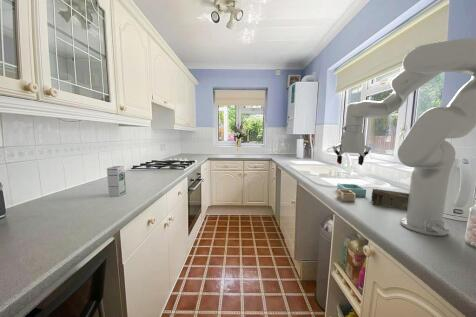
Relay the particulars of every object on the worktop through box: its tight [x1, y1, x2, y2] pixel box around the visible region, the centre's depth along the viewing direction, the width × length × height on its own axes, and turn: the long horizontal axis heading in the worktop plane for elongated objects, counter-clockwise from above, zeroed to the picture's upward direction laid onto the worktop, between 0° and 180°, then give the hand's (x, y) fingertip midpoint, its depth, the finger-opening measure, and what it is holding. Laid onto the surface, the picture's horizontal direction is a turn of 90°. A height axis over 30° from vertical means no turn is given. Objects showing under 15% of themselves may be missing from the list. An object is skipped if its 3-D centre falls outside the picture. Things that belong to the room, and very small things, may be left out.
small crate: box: [336, 190, 356, 203], centre depth 106 cm, size 7×6×4 cm
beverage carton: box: [371, 188, 409, 210], centre depth 97 cm, size 8×19×7 cm, turn 63°
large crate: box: [336, 183, 367, 198], centre depth 117 cm, size 12×11×4 cm
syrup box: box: [106, 165, 127, 197], centre depth 107 cm, size 6×6×14 cm
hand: (349, 164), depth 104 cm, fingers open, 9 cm apart
